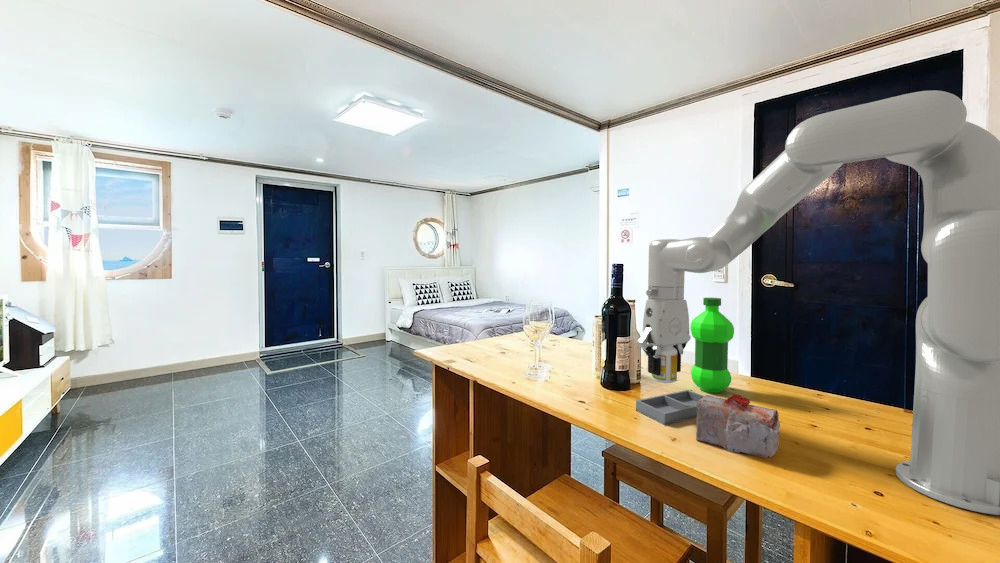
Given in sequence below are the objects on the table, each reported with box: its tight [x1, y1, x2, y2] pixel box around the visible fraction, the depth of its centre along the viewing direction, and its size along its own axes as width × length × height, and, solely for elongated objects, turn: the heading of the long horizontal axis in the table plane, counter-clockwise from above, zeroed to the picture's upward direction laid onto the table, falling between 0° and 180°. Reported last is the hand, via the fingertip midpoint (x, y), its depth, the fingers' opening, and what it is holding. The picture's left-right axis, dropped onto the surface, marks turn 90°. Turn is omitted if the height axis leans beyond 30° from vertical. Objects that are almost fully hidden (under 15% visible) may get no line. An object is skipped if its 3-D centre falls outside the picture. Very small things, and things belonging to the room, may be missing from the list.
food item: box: [695, 394, 781, 459], centre depth 74 cm, size 14×8×10 cm, turn 51°
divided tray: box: [635, 389, 704, 426], centre depth 91 cm, size 9×17×2 cm, turn 113°
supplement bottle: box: [651, 345, 678, 384], centre depth 89 cm, size 5×5×10 cm
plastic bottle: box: [689, 297, 735, 394], centre depth 104 cm, size 10×10×25 cm
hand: (664, 371), depth 89 cm, fingers closed on supplement bottle, 5 cm apart
